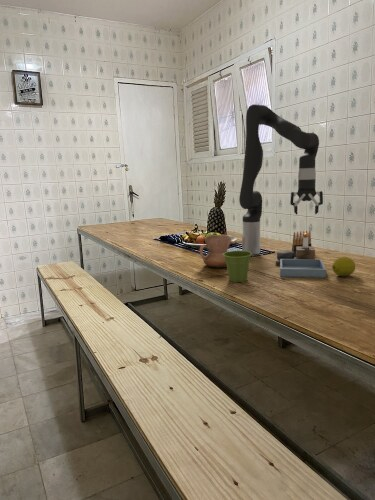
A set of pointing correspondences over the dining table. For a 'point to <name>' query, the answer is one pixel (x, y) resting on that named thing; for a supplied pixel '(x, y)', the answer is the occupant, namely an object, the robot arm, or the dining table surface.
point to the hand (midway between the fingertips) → (306, 214)
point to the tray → (302, 268)
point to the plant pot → (237, 265)
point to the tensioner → (299, 254)
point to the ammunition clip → (300, 241)
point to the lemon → (343, 266)
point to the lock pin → (305, 240)
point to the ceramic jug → (216, 250)
